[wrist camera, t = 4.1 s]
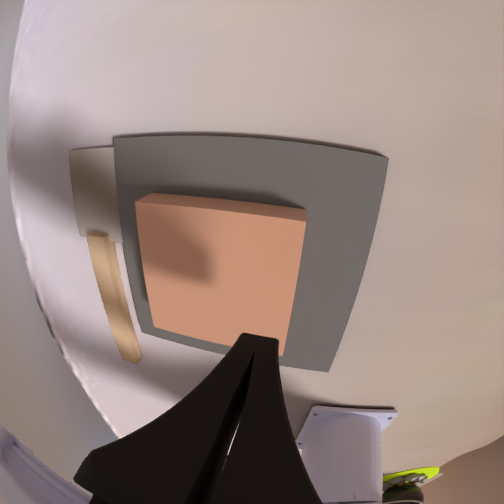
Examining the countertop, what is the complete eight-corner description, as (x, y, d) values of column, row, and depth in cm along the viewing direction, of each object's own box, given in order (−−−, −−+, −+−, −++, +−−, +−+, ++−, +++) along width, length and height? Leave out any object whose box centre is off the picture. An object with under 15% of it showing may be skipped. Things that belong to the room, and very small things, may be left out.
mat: (328, 366, 18) (328, 372, 17) (144, 328, 20) (141, 332, 19) (385, 156, 11) (388, 158, 11) (118, 137, 13) (113, 138, 13)
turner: (155, 361, 22) (150, 369, 21) (115, 346, 22) (110, 353, 21) (121, 146, 13) (110, 148, 13) (73, 150, 14) (62, 153, 13)
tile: (282, 355, 15) (154, 326, 16) (286, 335, 16) (166, 310, 18) (306, 221, 11) (134, 201, 12) (307, 208, 13) (153, 191, 14)
